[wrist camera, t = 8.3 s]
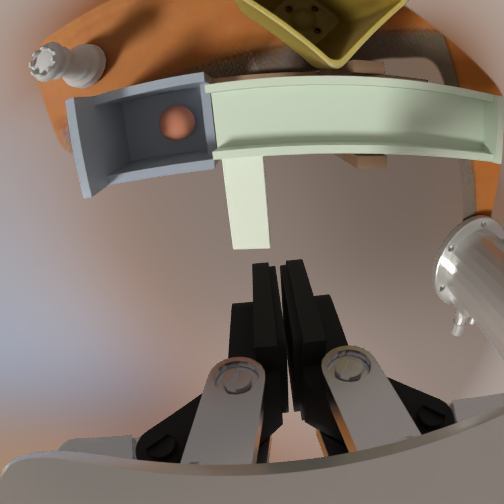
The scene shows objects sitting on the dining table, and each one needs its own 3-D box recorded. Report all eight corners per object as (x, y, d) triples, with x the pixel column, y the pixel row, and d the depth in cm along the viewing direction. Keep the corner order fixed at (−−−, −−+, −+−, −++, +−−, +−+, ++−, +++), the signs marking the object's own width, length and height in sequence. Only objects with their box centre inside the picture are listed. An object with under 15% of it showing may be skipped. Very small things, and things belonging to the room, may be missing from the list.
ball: (180, 142, 23) (154, 145, 24) (204, 136, 25) (178, 138, 26) (175, 105, 21) (149, 110, 23) (200, 101, 23) (174, 106, 25)
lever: (471, 238, 20) (486, 253, 18) (232, 244, 23) (225, 261, 21) (483, 94, 15) (503, 97, 13) (213, 86, 18) (202, 84, 16)
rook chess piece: (80, 97, 24) (33, 101, 17) (62, 65, 22) (12, 62, 15) (116, 68, 23) (73, 61, 16) (95, 36, 21) (51, 22, 14)
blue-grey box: (221, 154, 27) (210, 178, 19) (127, 168, 27) (83, 198, 19) (212, 78, 24) (197, 67, 16) (116, 97, 24) (65, 100, 16)
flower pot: (294, -35, 19) (312, -82, 10) (368, 22, 21) (413, -3, 13) (231, 23, 22) (224, -12, 13) (310, 82, 24) (337, 72, 16)
